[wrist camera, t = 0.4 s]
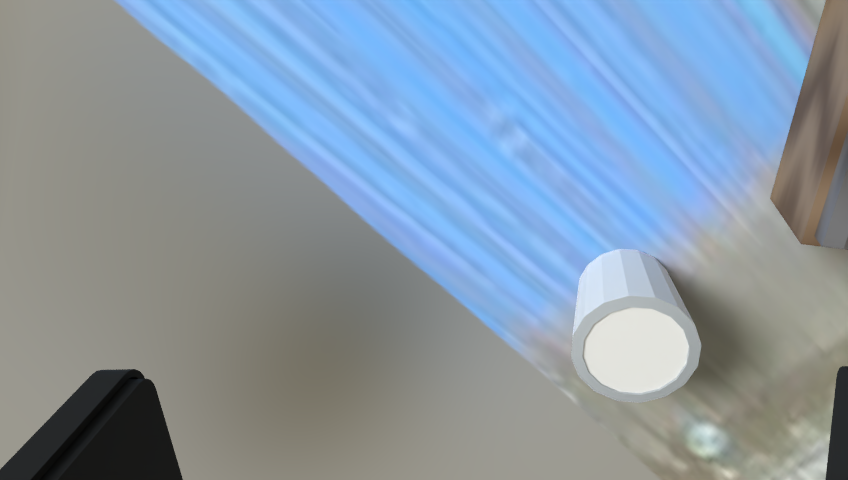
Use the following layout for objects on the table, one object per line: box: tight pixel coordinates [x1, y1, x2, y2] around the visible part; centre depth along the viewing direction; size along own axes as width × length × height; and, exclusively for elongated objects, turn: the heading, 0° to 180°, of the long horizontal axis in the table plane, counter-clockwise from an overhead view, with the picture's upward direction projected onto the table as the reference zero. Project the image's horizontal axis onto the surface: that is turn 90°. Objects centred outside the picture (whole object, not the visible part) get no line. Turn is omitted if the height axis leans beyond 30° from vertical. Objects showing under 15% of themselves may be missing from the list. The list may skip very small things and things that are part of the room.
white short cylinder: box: [571, 249, 701, 403], centre depth 44 cm, size 7×7×7 cm
